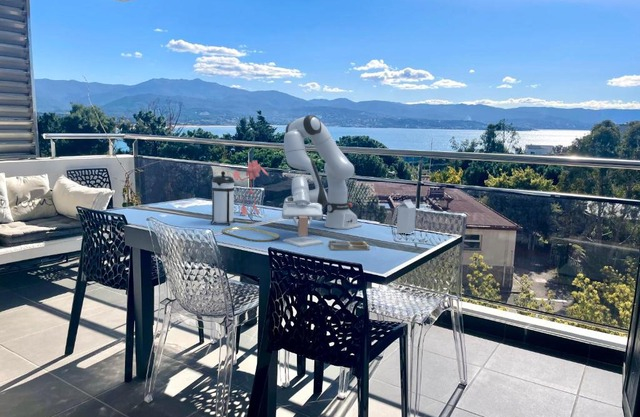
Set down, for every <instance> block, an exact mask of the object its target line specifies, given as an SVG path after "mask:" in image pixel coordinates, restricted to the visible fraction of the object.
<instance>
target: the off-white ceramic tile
mask: <svg viewBox="0 0 640 417" xmlns="http://www.w3.org/2000/svg"><path fill="white" fill-rule="evenodd" d="M282 241H283V242H284V243H286V244H290V245H293V246H296V247H298V248H304V247H309V246H310V247H311V246H317V245H323V244H324V241H322V240H318V239H315V238H312V237H309V236H299V237H292V238H285V239H282Z"/></svg>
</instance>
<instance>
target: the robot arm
mask: <svg viewBox="0 0 640 417" xmlns="http://www.w3.org/2000/svg"><path fill="white" fill-rule="evenodd" d="M308 138H309V139H310V141H311V143H312V144H313V146H314V148H315V149H316V152H317V153H318V155H319V157H320V158H322V160H324V162H325V163H324V166H323V167H324V168H323V169H324V173H325V174H326V179H327V180H326V181H327V186H328V187H327V189H328V190H327V192H326V190H325V187H324V186H323V185H324V184H323V183H322V179H321V176H320V174H319V171H318V167H317V166H316V163H315V161H314V159H313V158H310V157H309V156H308V153H307V150H306V146H305V139H308ZM283 149H284V156H285V160H286V163H287V165H289V166H290V167H292V168H293V169H297V170H302V171H306V172H308V173H309V174H310V175H311V178H312V180H313V183H314V188H313V189H310V188H309V182H308V180H307V178H306V177H305V176H302V175H300V176H294V178H292V180H291V194H290V197H285V199H284V201H283V205H282V211H281V218H282V219H283V220H292V221H293V223H294V224H295V226H296V227H298V226H299V216H307V217H308V227H311V223H312V220H315V221H316V220H320V221H321V220H322V218H323V216H324V215H323V214H324V212H323V208H325V206H326V211H327V212H326V218H325V223H324V224H323V226H324V227H326V228H329V229H339V230H340V229H341V230H350V229H355V228H359V227H362V224H361V223H359V222H358V216H357V214H355V213H354V212H353V211H352V210H351V209H350V207H351V208H352V207H353V203H351V202H349V203H348V192H349V190H348V187H347V185H346V184H347V183H346V180H349V179H350V178H352V177H353V176H354V174H355V166H354V164H353V163H352V162H350V160H349V159H348V158H347V156H346V155H345V154H344V153H343V152H342V150H341V149H340V147H338V145H337V143H336V141H335V140H334V138H333V136H332V135H331V133H330V131H329V130H328V128H327V126H326V125H325V124H324V123H323V122H322V121H321V120H320V119H319V118H318V117H317V116H316V115H313V114H310V115H309V114H307V115H306V116H303V117H299V118H298V119H295V120H293V121H290V122H289V123H288V124H287V125H286V128H285V134H284V137H283Z"/></svg>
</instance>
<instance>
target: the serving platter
mask: <svg viewBox="0 0 640 417" xmlns="http://www.w3.org/2000/svg"><path fill="white" fill-rule="evenodd" d="M233 229H237V230H243V229H244V230H247V231H252V232H256V233H260V234H264V235H268V236H273V237H275V238H268V239H266V238H265V239H256V238H249V237H248V238H247V237H245V236H241V235H237V234H234V233H230V232H228V231H227V230H229V231H234V230H233ZM225 231H226V232H225ZM222 232H223V233H224V234H226V235H227V234H228V236H231V235H232V237H235V236H236V237H235V238H238V237H239V239H242V238H243V240H246V239H247V240H246V241H250V240H252V242H272V240H273V241H276V240H278V239H279V238H280V235H279V233H275V232H271V231H266V230H262V229H258V228H255V227H250V226H249V227H248V226H231V227H226V228H223V229H222Z"/></svg>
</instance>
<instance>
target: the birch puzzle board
mask: <svg viewBox="0 0 640 417" xmlns="http://www.w3.org/2000/svg"><path fill="white" fill-rule="evenodd" d="M327 243H328V244H327V246H328V247H329V249H330V251H370V245H369V244H368V243H367V242H366V241H347V240H328V242H327Z"/></svg>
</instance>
